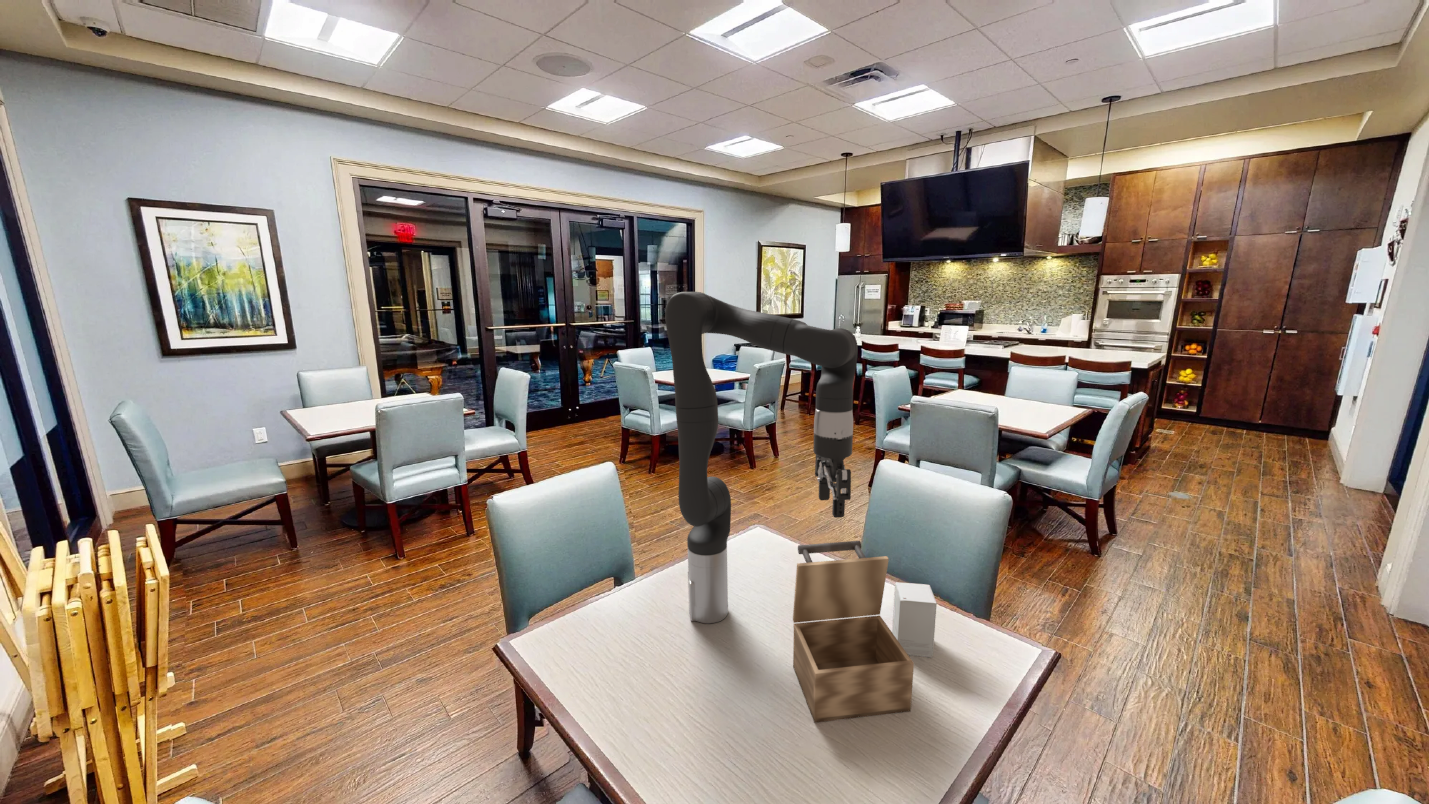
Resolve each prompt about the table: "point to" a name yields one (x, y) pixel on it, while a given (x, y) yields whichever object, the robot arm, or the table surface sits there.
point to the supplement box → (914, 618)
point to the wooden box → (851, 668)
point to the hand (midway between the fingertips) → (830, 507)
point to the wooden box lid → (838, 584)
